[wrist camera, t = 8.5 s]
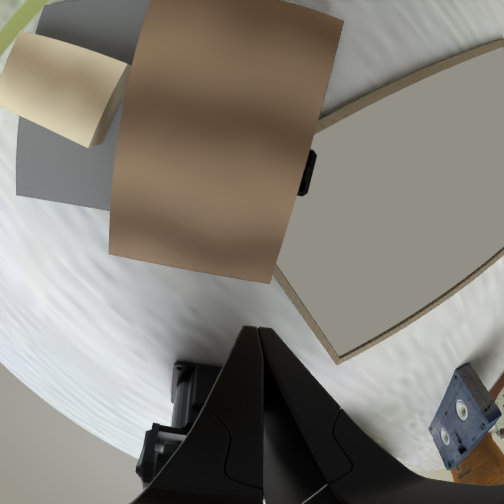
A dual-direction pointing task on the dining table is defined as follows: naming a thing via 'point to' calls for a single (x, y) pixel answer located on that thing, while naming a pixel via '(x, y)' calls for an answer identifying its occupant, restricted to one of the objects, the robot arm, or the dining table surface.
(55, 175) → the rubber mat
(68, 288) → the dining table surface
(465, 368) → the vhs cassette tape
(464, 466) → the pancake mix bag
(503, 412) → the food container
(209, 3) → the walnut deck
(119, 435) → the dining table surface
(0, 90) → the maple tile
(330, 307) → the rectangular mirror
